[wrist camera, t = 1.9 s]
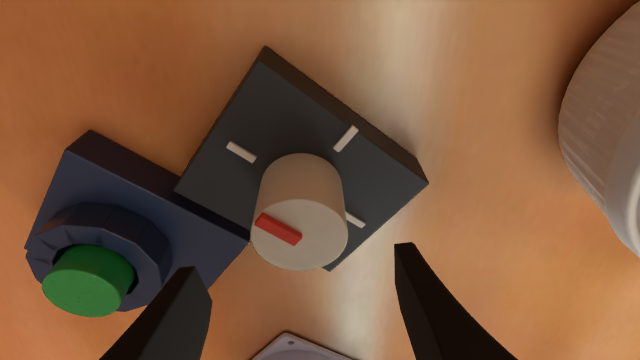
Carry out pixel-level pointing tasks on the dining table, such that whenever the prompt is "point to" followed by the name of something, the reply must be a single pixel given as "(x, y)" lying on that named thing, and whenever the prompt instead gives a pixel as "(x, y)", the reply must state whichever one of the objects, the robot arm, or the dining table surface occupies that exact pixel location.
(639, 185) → the ramekin
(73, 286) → the button
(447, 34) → the dining table surface
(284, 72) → the dimmer panel
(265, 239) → the dimmer knob
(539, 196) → the dining table surface
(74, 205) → the switch box
